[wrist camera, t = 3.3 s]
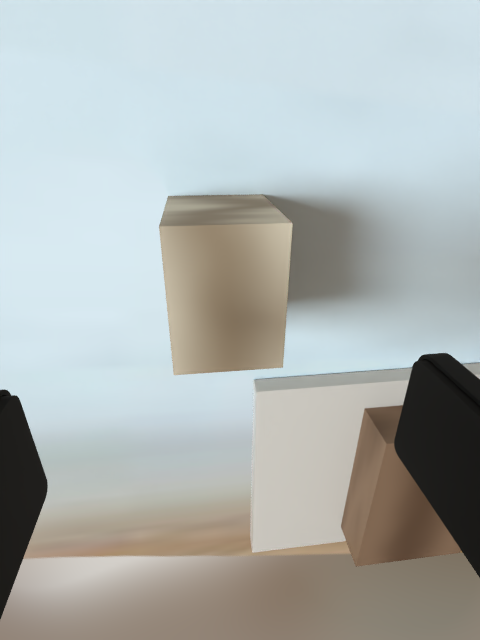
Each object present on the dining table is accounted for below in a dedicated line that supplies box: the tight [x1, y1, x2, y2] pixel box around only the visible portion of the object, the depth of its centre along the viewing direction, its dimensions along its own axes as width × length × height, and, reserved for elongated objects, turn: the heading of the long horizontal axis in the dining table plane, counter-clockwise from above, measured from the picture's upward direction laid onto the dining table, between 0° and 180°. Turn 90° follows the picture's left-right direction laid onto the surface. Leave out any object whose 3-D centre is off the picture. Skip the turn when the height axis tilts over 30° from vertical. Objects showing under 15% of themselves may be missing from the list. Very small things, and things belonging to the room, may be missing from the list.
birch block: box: [159, 194, 293, 375], centre depth 16 cm, size 4×6×6 cm
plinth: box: [341, 405, 461, 566], centre depth 25 cm, size 8×12×3 cm, turn 0°
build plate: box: [250, 363, 480, 553], centre depth 27 cm, size 22×16×1 cm
